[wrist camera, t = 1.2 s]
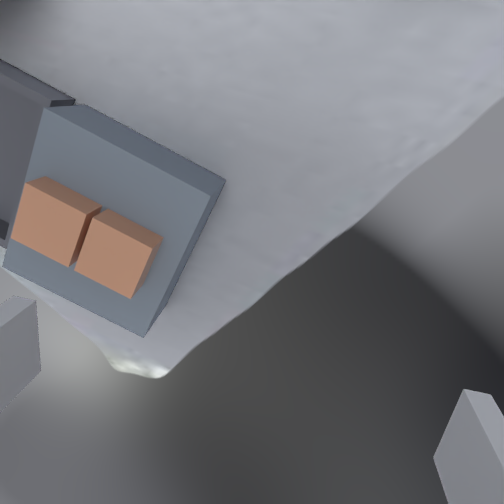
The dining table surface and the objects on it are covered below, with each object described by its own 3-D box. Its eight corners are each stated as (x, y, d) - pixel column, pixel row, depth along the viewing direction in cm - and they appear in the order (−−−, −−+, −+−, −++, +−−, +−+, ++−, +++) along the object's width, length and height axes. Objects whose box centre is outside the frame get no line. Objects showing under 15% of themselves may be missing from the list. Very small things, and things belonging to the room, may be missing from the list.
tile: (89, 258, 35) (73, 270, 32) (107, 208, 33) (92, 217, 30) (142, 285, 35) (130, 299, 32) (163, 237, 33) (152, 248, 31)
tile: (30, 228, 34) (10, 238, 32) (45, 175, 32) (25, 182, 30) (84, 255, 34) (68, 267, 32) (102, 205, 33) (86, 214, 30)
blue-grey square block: (43, 243, 42) (2, 266, 36) (85, 104, 36) (43, 107, 30) (165, 305, 42) (143, 337, 37) (226, 180, 37) (210, 196, 31)
